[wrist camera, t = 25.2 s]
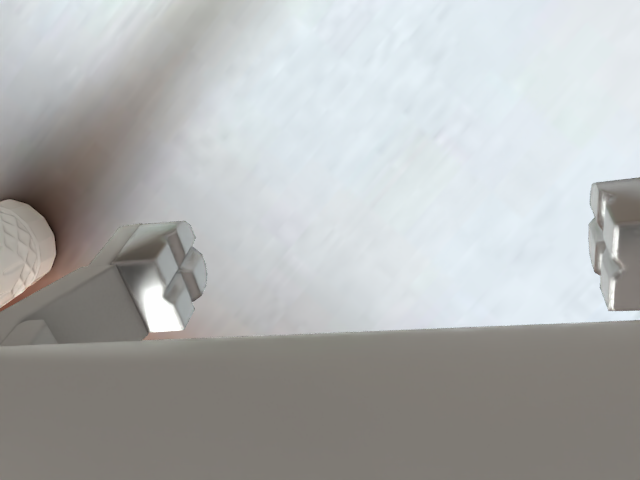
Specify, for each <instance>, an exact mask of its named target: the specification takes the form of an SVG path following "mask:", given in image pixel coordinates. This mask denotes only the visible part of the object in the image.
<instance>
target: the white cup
mask: <svg viewBox="0 0 640 480" xmlns="http://www.w3.org/2000/svg"><path fill="white" fill-rule="evenodd" d="M55 256H56V246H55V238H54V234H53V232H52V230H51V229H50V227H49V225H48V223H47V221H46V220H45V218H44V217H43V216H42V215H41V214H39V213H38V212H37V211H36V210H35V209H33V208H32V207H31V206H30V205H28V204H25V203H22V202H18V201H15V200H12V199H8V200H2V201H0V308H1V307H2V306H4V305H5V304H7V303H8V302H9V301H11V300H12V299H13V298H15V297H16V296H18V295H19V294H21V293H22V292H24V291H25V290H26V288H27V287H29V286H30V285H32V284H34V283H35V282H37V281H38V280H39V279H41V278H42V277H43V276H44V275H45V274H47V273H48V272H49V271H50V270H51V268H52V265H53V262H54V259H55Z"/></svg>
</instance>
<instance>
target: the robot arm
mask: <svg viewBox="0 0 640 480" xmlns="http://www.w3.org/2000/svg"><path fill="white" fill-rule="evenodd" d="M590 206H591V209H592V211H593V214H594V216H595V218H594V219H593V220H592V221H591V222H590V223H589V234H588V241H589V254H590V258H591V263H592V266H593V269H594V272H595V273H597V274H598V275H600V289H601V292H602V294H603V297H604V300H605V303H606V305H607V308H608V311H635V310H640V178H631V179H622V180H614V181H605V182H596V183H593V184H592V186H591V191H590ZM195 239H196V237H195V234H194V232H193V230H192V227H191V225H190V224H189V223H187V222H186V221H175V222H161V223H148V224H134V225H126V226H121V227H119V228H118V229H117V231H116V232H115V233H114V234H113V236H112V237H111V238H110V239H109V241H108V242H107V243H106V244H105V245H104V247H103V248H102V249H101V250H100V252H99V253H98V254H97V255H96V257H95V258H94V259H93V260H92V262H91V263H90V264H89V265H88V266H87V267H80V268H79V269H77V270H75V271H73V272H71V273H70V274H68V275H66V276H64V277H62V278H61V279H59V280H57V281H55V282H53V283H52V284H50V285H48V286H46V287H44V288H43V289H41V290H39V291H37V292H35V293H34V294H32V295H30V296H28V297H26V298H25V299H23V300H21V301H19V302H18V303H16V304H14V305H12V306H10V307H9V308H7V309H5V310H3V311H1V312H0V480H640V320H633V321H609V322H584V323H560V324H535V325H510V326H486V327H461V328H437V329H412V330H388V331H363V332H338V333H314V334H289V335H264V336H240V337H215V338H191V339H166V340H142V339H144V338H145V337H146V336H147V335H148V332H162V331H176V330H184V329H185V327H186V325H187V324H188V322H189V320H190V318H191V316H192V314H193V312H194V310H195V308H194V306H193V303H192V302H193V301H195V300H196V299H198V298H199V297H200V296H202V294H203V292H204V290H205V287H206V281H207V270H206V264H205V261H204V258H203V255H202V254H201V253H200V252H199V251H197V250H196V249H195V248H194V247H193V244H194V241H195Z"/></svg>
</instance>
